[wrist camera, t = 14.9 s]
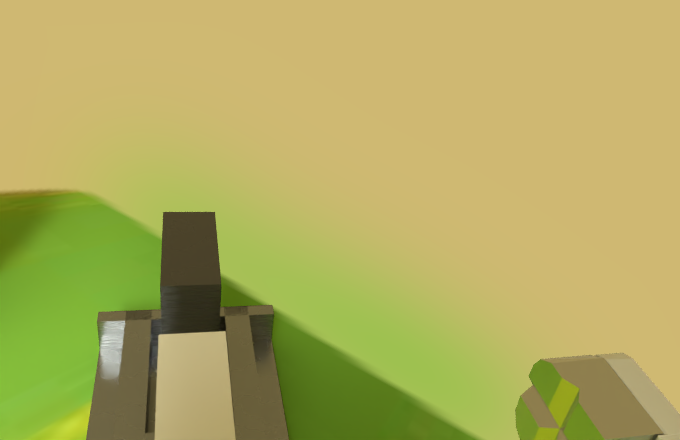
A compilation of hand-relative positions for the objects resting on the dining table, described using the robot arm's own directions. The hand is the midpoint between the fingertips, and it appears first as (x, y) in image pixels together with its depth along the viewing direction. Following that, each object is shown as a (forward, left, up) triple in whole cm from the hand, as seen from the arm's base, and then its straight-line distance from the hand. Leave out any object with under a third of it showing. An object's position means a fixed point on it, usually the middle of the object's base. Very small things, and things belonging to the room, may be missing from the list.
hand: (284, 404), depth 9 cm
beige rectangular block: (-1, +12, -25) cm, 27 cm away
